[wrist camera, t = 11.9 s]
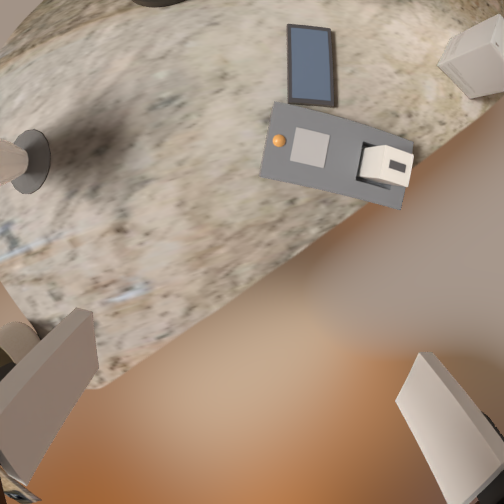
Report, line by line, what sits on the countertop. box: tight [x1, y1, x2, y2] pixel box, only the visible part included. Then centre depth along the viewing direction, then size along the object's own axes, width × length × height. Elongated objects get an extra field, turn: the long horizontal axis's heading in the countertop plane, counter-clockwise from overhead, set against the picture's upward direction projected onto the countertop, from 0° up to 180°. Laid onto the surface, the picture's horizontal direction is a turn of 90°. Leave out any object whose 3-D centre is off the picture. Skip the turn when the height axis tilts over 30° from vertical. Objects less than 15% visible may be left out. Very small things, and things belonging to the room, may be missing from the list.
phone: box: [287, 24, 334, 107], centre depth 36 cm, size 13×6×1 cm, turn 179°
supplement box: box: [437, 14, 504, 99], centre depth 28 cm, size 9×9×15 cm
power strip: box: [259, 101, 414, 210], centre depth 38 cm, size 10×20×4 cm, turn 79°
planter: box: [0, 322, 41, 367], centre depth 43 cm, size 12×12×11 cm
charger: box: [356, 145, 414, 187], centre depth 35 cm, size 4×4×9 cm
